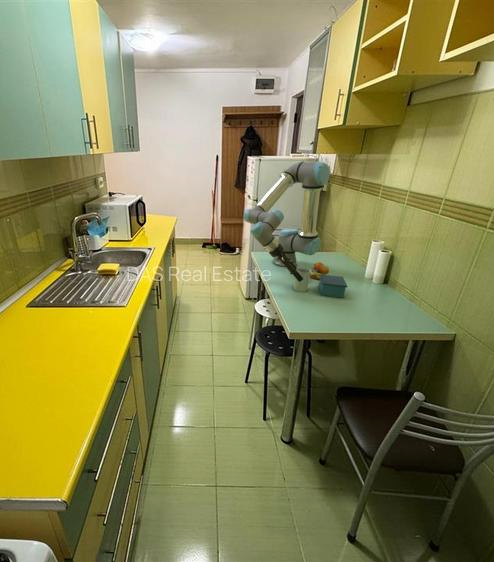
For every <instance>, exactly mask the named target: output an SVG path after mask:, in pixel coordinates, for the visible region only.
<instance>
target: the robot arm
mask: <svg viewBox="0 0 494 562" xmlns="http://www.w3.org/2000/svg"><path fill="white" fill-rule="evenodd" d="M330 170H331V169H330V167H329V166H328V164H327V163H325V162H322V161H308V160H307V161H305V160H299V161H297V162H294V163H292V164H290V165H289V166H287V167H286V168H285V169H284V170H283V171H282V172H281V173H280V174H279V176H278V179H277V180H276V182H274V183H273V185H272V186H271V187H270V188H269V190H268V191H267V192H266V193H265V194H264V195H263V196H262V198H260V200H259V201H258V202H257V203H256V204H255V206H253V208H247V209H245V211H244V213H243V220H244V221H245V222H246V223H248V224H252V225H253V226H252V227H251V228H250V233H251V235H252V236H253V238H254V239H256V241H257V242H258V243H259V244H260V245H261V246H262V247H263V250H266V252H268V254H269V255H270V256H271V257H272V258H273V261H272V263H273V265H276V266H279V267H284V268H286V269H287V270H288V271H289V274H290V275H292V276H293V277H294V279H295V278H296V279H297V280H298V281H299V282H300V281H302V280H303V277H302V276H301V275H300V274H299V273H298V272H297V271H296V269H297V268H298V267H297V263H298V262H297V261H298V260H297V257H296V253H300V254H303V255H306V256H314V255H315V254H316V253H318V251H319V249H320V247H321V244H322V239H321V238H320V237H319V232H318V231H317V222H318V213H319V205H320V196H321V195H320V194H321V191H322V190H323V189H324V186H325V185H327V183H328V182H329V180H330V175H331V172H330ZM298 183H299V184H301V189H302V190H303V202H302V213H301V223H300V229H297V228H285V229H281V230H280V231H279V234H278V239H277V238H276V236H274V234H273V233H274V232H275V230H276V229H277V228H278V227H279V226H281V224H282V222H283V221H284V219H285V216H284V213H283V211H281V210H279V209H277V208H276V209H273V210H272V211H271V209H272V207H274V206H275V204H276V203H277V202H278V200H279V199H280V198H281V197H282V196H283V195H284V194H285V193H286V192H287V190H289V188H291V187H293V186H294V184H298ZM269 211H270V212H269Z"/></svg>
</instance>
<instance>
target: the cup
mask: <svg viewBox="0 0 494 562" xmlns="http://www.w3.org/2000/svg"><path fill="white" fill-rule="evenodd" d="M296 268H297V269H296V271H297V272H298V273H299V274H300V275H301V276H302V277H303V280H302V281H300V282H299V281H298V280H297V279H296V278H295V277H294V281H293V286H292V287H293V290H294V291H297V292H301V293H304V292H305V293H306V292H307V291H308V288H309V284H310V279H311V278H310V273H311V271H310V268H309V269H308V268H306V267H296Z"/></svg>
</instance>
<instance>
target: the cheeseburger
mask: <svg viewBox="0 0 494 562" xmlns="http://www.w3.org/2000/svg"><path fill="white" fill-rule="evenodd" d="M309 270H310V271H311V273H310V277H311V278H312V279H315V280H320V278H321V277H320V274H322V275H329V273H330V268H329V266H325V265H324V263H322V262H320V261H317V262H315V263H314V264H313V267H311V268H309Z"/></svg>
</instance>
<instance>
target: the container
mask: <svg viewBox="0 0 494 562" xmlns="http://www.w3.org/2000/svg"><path fill="white" fill-rule="evenodd" d="M320 277H321V278H320V279H319V284H318V288H319V291H320V295H321V296H325V297H326V296H327V297H334V298H345V293H346V290H347V289H346V288H348V285H347V282H346V280H345V278H344V276H339V275H329V274H326V275H322V274H320Z"/></svg>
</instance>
